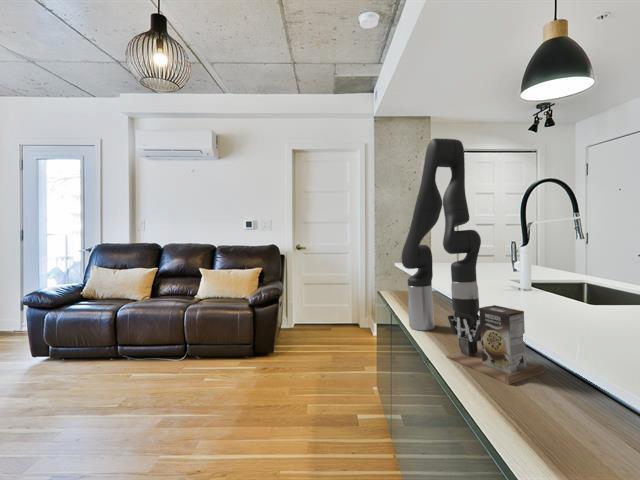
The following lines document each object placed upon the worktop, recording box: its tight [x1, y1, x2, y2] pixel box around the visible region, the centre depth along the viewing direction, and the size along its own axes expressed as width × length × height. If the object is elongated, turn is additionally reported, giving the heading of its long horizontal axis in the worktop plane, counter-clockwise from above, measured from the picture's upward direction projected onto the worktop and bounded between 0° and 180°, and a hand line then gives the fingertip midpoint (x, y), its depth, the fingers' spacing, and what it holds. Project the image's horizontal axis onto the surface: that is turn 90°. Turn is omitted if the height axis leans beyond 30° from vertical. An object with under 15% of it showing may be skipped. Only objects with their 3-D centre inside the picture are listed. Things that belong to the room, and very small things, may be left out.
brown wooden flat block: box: [445, 335, 545, 385], centre depth 93 cm, size 21×13×6 cm, turn 22°
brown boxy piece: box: [478, 304, 527, 374], centre depth 89 cm, size 9×6×16 cm
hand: (468, 351), depth 100 cm, fingers closed on brown wooden flat block, 3 cm apart
